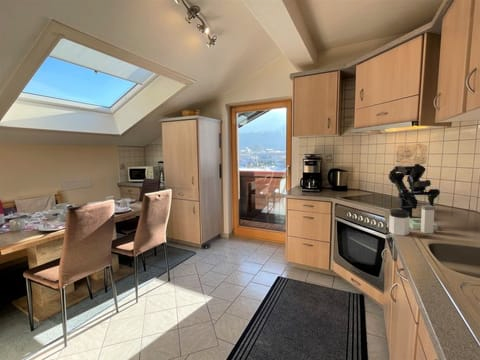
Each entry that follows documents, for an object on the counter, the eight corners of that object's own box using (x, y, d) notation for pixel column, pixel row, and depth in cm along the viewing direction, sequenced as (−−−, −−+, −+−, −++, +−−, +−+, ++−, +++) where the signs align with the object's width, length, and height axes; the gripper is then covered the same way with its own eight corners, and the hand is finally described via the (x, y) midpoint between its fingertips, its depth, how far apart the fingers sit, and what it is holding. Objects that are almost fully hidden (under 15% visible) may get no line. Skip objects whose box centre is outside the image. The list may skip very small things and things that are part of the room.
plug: (420, 230, 131) (421, 205, 129) (429, 230, 129) (430, 205, 128) (424, 233, 127) (425, 207, 125) (433, 233, 125) (434, 207, 124)
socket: (404, 222, 143) (405, 218, 143) (427, 223, 140) (427, 218, 140) (412, 229, 133) (413, 224, 132) (437, 230, 130) (437, 224, 129)
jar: (401, 236, 123) (402, 214, 122) (386, 232, 131) (386, 210, 129) (412, 233, 127) (412, 211, 126) (396, 229, 134) (396, 208, 133)
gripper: (400, 175, 138) (407, 198, 128) (439, 174, 132) (449, 198, 123) (395, 186, 146) (401, 209, 137) (431, 186, 141) (440, 209, 132)
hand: (422, 206), depth 132 cm, fingers open, 9 cm apart
